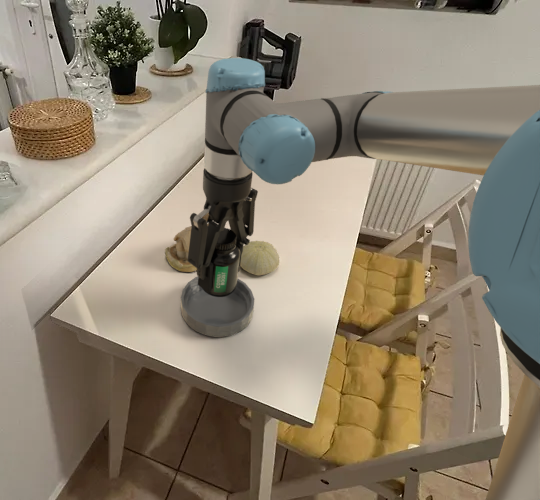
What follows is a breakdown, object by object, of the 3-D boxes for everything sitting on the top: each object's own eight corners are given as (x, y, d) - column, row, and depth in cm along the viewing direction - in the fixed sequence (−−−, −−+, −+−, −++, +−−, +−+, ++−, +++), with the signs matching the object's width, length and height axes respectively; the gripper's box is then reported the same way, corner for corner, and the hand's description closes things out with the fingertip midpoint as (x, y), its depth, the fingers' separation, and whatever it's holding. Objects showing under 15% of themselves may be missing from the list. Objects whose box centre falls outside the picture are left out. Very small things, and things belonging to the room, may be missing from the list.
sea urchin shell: (226, 260, 94) (244, 228, 94) (240, 266, 101) (256, 237, 101) (261, 280, 90) (280, 246, 89) (272, 285, 96) (290, 254, 96)
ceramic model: (210, 234, 104) (212, 199, 98) (237, 261, 97) (241, 225, 91) (159, 252, 99) (157, 217, 92) (183, 282, 92) (183, 246, 85)
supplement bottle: (225, 303, 78) (231, 253, 70) (193, 289, 80) (195, 239, 73) (242, 281, 82) (249, 232, 74) (211, 268, 85) (214, 219, 77)
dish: (266, 323, 83) (268, 310, 81) (201, 349, 78) (202, 336, 76) (229, 277, 93) (230, 265, 91) (169, 297, 88) (169, 285, 86)
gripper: (251, 141, 72) (239, 245, 87) (162, 182, 62) (165, 293, 77) (287, 157, 68) (268, 263, 83) (198, 204, 58) (194, 316, 73)
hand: (219, 277), depth 80 cm, fingers closed on supplement bottle, 7 cm apart
